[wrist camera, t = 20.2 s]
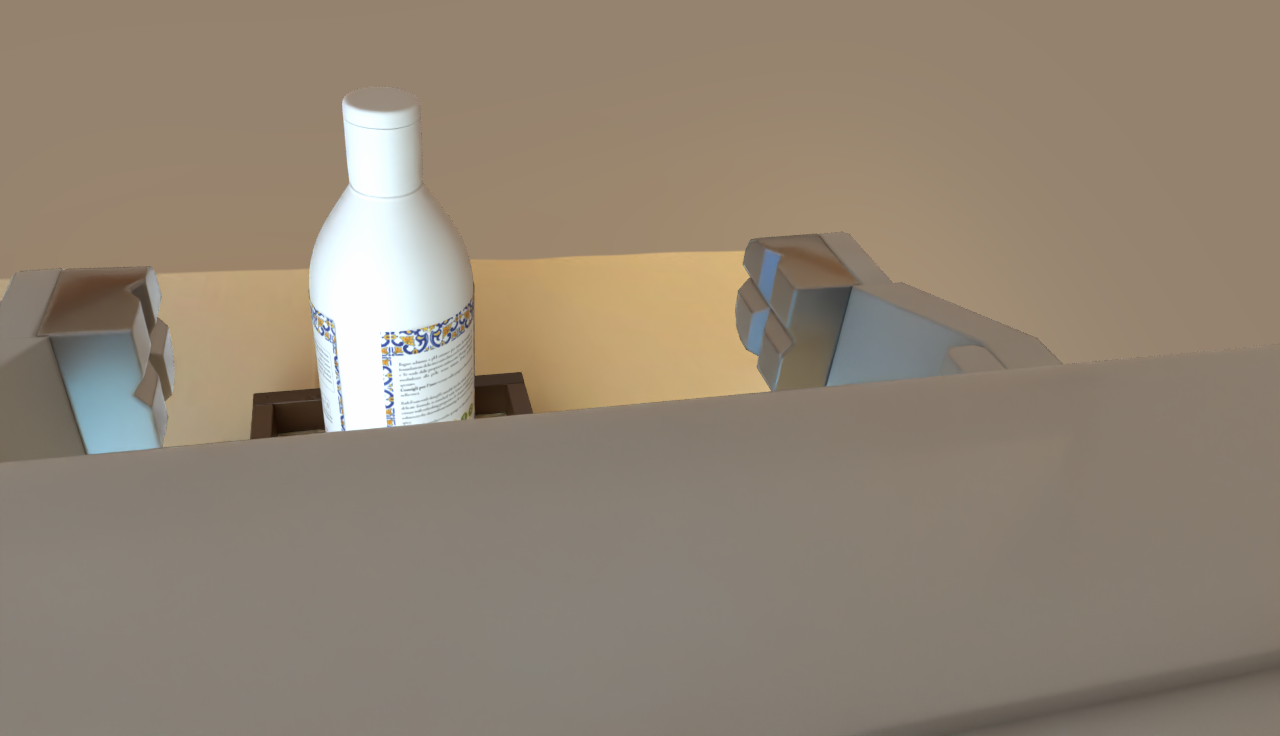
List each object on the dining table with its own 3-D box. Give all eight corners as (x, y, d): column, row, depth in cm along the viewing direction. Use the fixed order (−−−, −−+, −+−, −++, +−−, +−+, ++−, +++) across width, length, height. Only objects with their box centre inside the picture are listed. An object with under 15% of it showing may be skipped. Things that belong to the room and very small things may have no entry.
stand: (566, 570, 45) (568, 539, 44) (245, 613, 42) (238, 582, 41) (520, 399, 55) (521, 371, 54) (258, 423, 52) (253, 393, 51)
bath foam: (495, 457, 51) (500, 86, 40) (440, 548, 46) (426, 148, 34) (374, 426, 52) (343, 56, 41) (306, 512, 47) (248, 112, 35)
